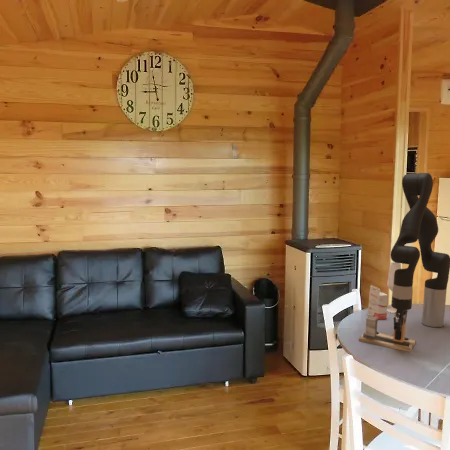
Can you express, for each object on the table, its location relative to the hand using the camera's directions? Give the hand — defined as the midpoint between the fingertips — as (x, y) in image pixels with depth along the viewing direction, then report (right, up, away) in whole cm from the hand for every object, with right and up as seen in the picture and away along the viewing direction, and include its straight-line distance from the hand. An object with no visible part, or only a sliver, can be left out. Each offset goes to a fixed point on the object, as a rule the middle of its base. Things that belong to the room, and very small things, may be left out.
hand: (399, 337), depth 193 cm
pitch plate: (-3, -3, +6) cm, 7 cm away
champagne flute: (+14, +2, +48) cm, 50 cm away
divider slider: (+1, -2, +3) cm, 3 cm away
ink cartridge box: (+3, +1, +38) cm, 38 cm away
